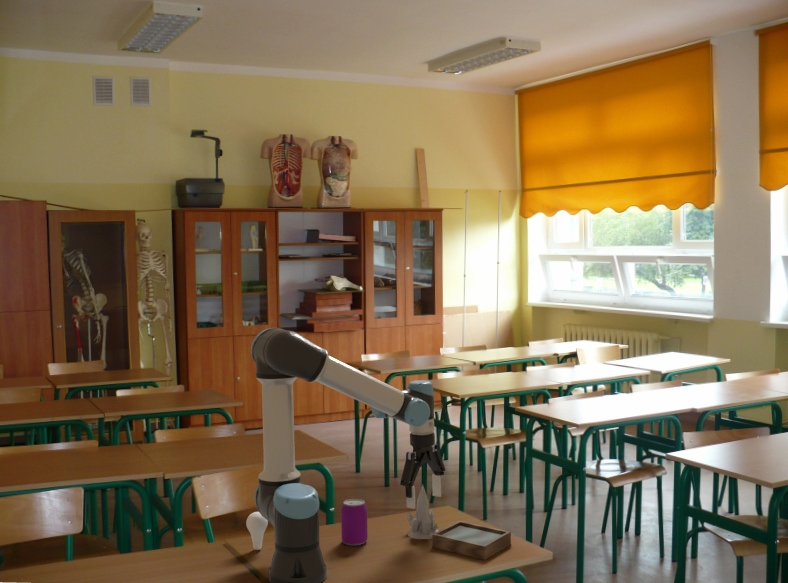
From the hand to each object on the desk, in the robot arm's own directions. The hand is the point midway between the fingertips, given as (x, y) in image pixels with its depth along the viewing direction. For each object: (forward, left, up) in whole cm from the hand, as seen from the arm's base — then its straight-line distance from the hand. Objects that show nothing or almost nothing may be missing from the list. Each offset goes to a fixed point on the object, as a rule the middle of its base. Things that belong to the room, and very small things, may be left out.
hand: (424, 501), depth 239 cm
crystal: (0, 0, -10) cm, 10 cm away
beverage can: (-13, -17, -10) cm, 24 cm away
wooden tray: (+17, 0, -10) cm, 20 cm away
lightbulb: (-32, -38, -10) cm, 51 cm away
